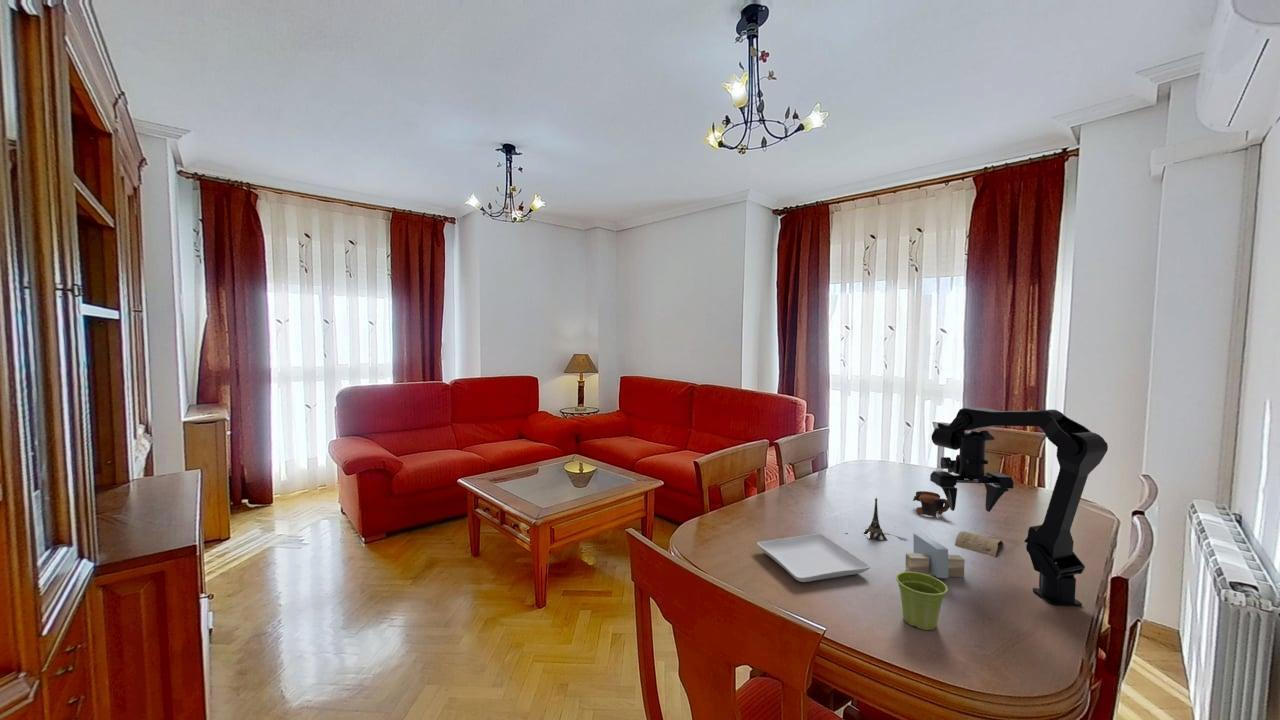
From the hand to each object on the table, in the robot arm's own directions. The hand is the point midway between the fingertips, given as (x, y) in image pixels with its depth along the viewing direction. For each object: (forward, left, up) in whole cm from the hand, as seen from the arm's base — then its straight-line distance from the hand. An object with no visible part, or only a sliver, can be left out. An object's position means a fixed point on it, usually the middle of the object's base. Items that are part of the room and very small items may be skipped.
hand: (970, 510), depth 132 cm
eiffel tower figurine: (+12, +19, -14) cm, 27 cm away
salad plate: (-7, +44, -14) cm, 47 cm away
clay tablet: (+9, -8, -14) cm, 18 cm away
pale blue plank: (-8, +14, -12) cm, 20 cm away
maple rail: (-10, +14, -13) cm, 22 cm away
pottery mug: (+34, -7, -13) cm, 37 cm away
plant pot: (-32, +28, -13) cm, 45 cm away
